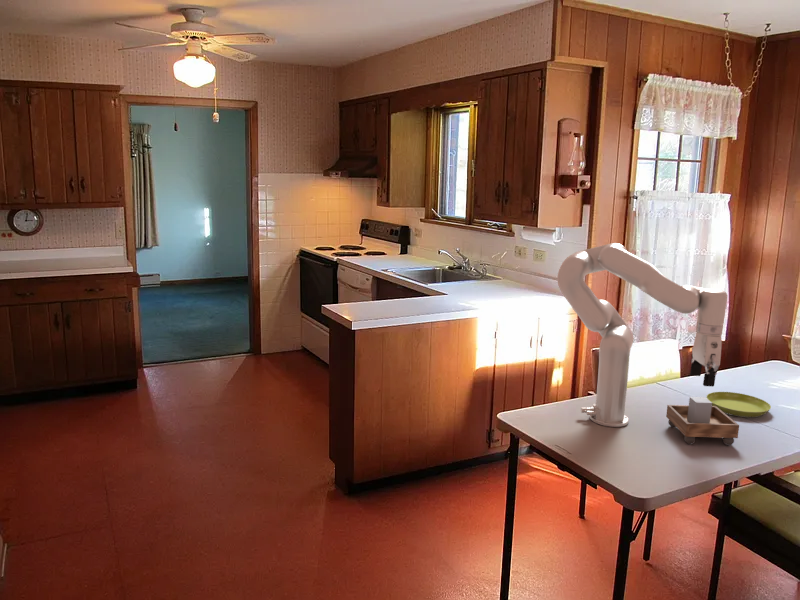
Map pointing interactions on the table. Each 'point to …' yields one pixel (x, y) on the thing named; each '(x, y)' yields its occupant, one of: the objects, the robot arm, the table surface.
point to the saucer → (739, 404)
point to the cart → (703, 424)
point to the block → (699, 410)
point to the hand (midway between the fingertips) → (701, 380)
